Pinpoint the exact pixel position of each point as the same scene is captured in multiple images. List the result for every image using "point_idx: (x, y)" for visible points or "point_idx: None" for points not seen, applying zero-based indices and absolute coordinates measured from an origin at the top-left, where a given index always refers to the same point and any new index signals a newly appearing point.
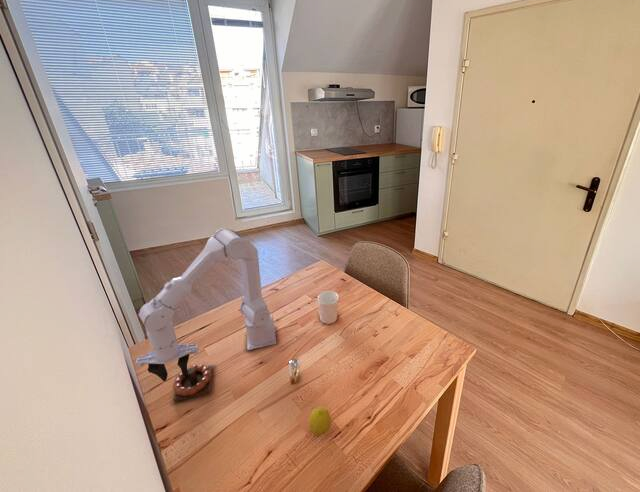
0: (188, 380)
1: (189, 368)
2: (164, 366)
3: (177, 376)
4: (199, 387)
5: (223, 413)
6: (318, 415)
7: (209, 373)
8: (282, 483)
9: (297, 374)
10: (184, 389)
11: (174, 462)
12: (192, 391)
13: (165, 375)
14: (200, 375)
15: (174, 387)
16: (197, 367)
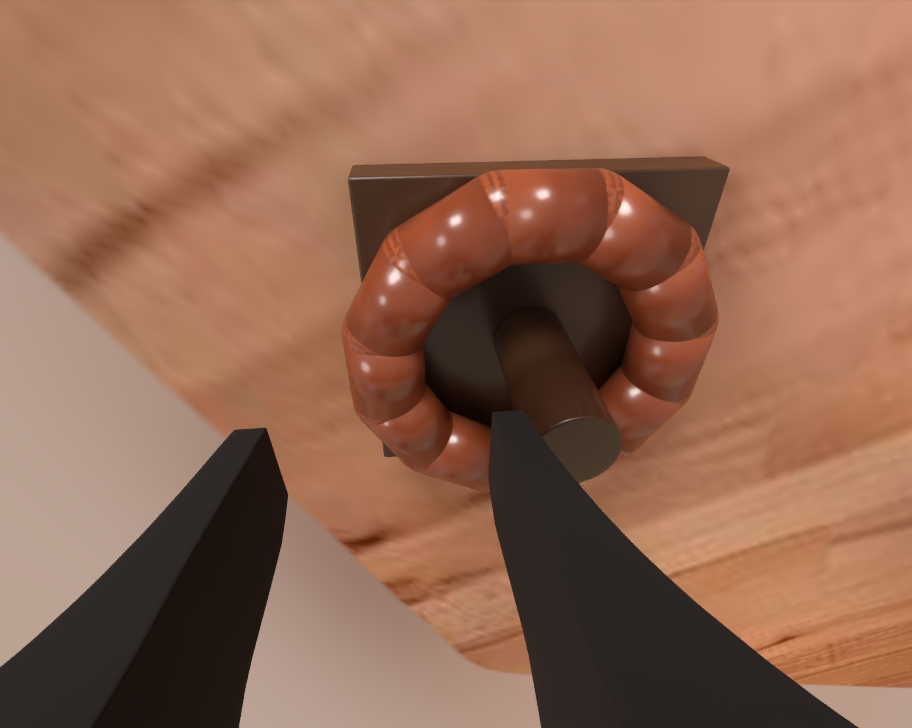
0: (473, 311)
1: (502, 252)
2: (192, 575)
3: (367, 325)
4: None
5: (680, 528)
6: None
7: (706, 353)
8: None
9: None
10: (481, 479)
11: (464, 637)
12: None
13: (265, 524)
14: (590, 282)
15: (376, 434)
16: (602, 258)
